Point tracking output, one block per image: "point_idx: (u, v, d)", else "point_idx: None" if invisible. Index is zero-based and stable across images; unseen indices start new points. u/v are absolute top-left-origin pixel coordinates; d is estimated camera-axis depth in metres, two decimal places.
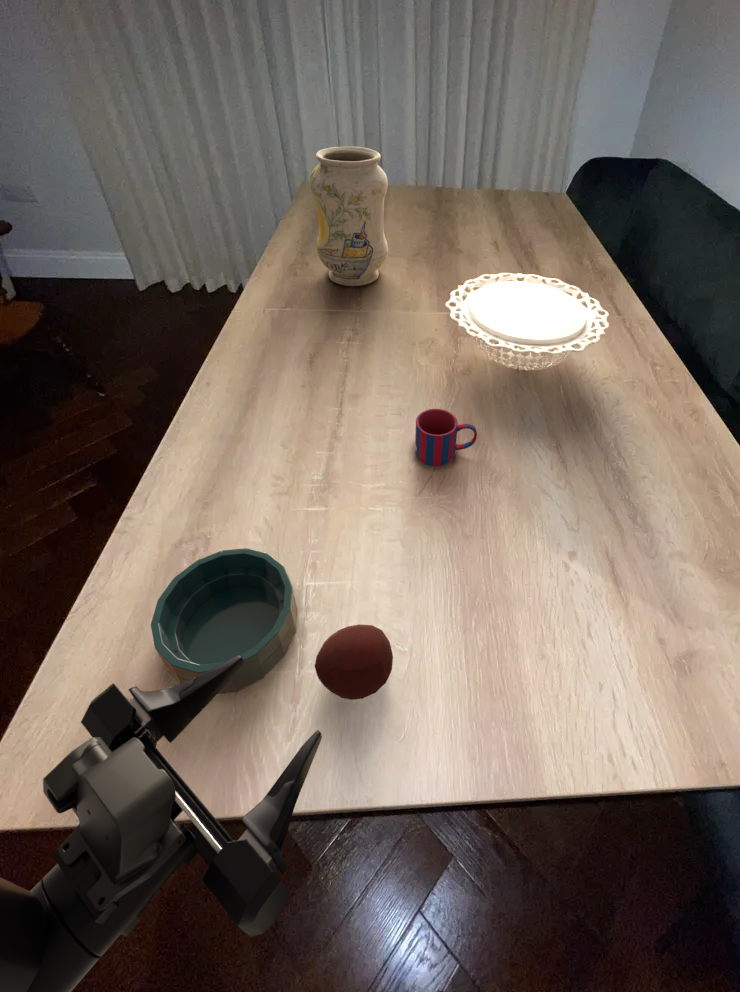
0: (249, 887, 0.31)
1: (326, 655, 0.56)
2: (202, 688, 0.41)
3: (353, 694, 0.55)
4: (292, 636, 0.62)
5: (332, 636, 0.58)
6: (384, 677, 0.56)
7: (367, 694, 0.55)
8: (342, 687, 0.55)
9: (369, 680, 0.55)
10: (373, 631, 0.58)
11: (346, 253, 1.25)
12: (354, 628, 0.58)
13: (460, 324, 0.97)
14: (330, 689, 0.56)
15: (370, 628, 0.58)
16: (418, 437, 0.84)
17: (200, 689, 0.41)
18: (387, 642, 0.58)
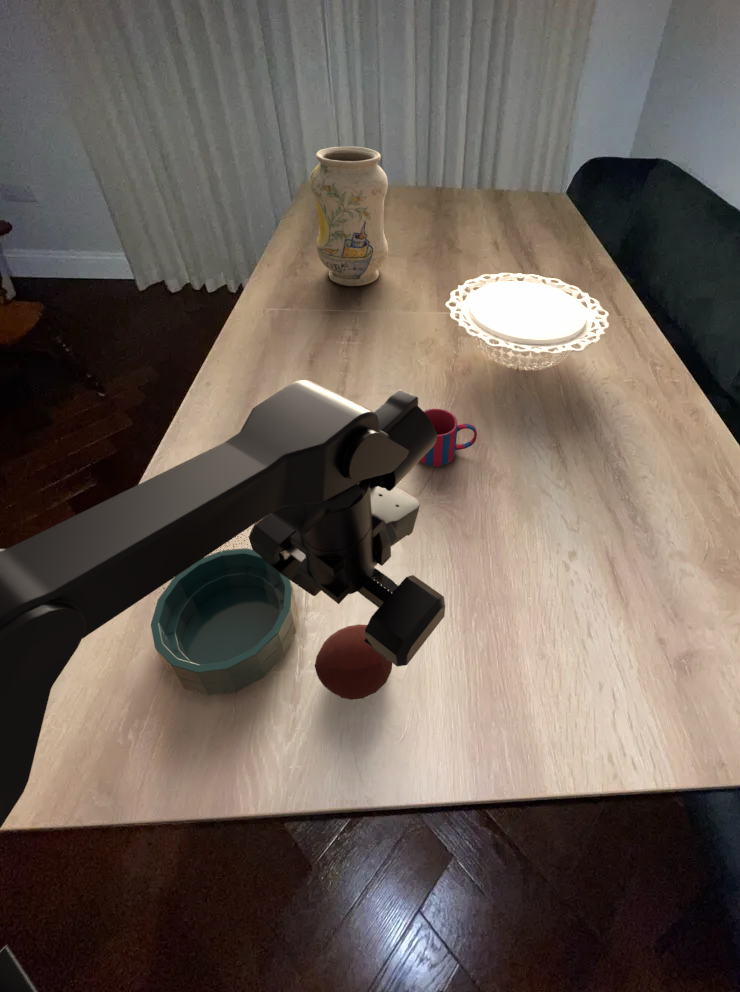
0: None
1: (326, 655, 0.56)
2: None
3: (353, 694, 0.55)
4: (292, 636, 0.62)
5: (332, 636, 0.58)
6: (384, 677, 0.56)
7: (367, 694, 0.55)
8: (342, 687, 0.55)
9: (369, 680, 0.55)
10: None
11: (346, 253, 1.25)
12: (354, 628, 0.58)
13: (460, 324, 0.97)
14: (330, 689, 0.56)
15: None
16: None
17: None
18: None
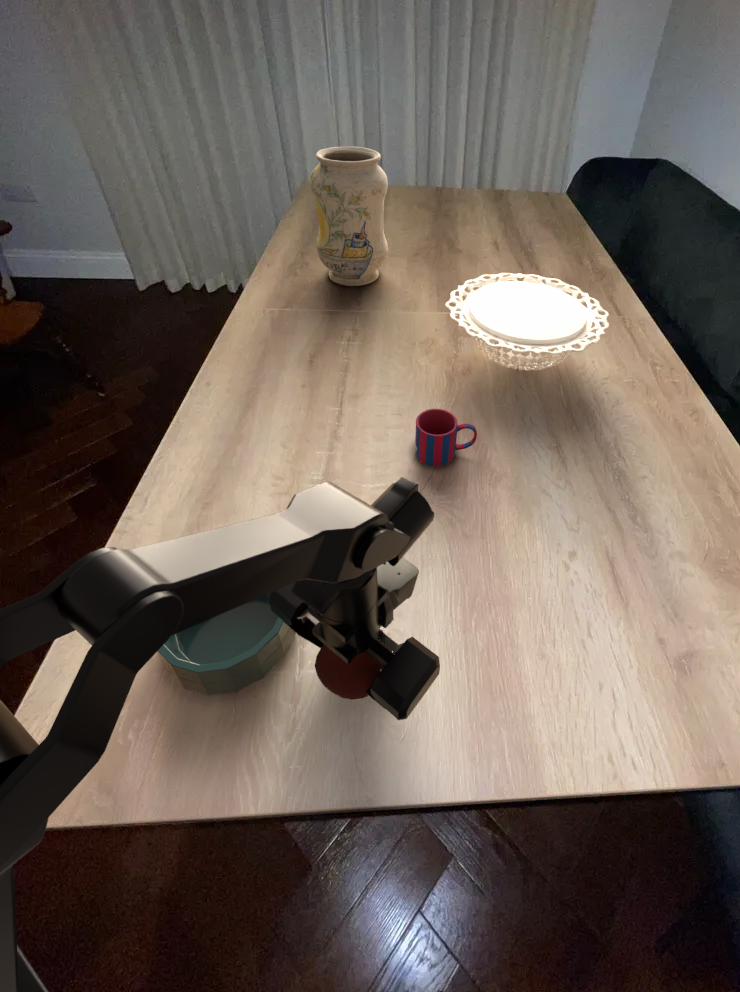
0: None
1: (326, 655, 0.56)
2: None
3: (353, 694, 0.55)
4: (292, 636, 0.62)
5: None
6: None
7: None
8: (342, 687, 0.55)
9: (369, 680, 0.55)
10: None
11: (346, 253, 1.25)
12: None
13: (460, 324, 0.97)
14: (330, 689, 0.56)
15: None
16: (418, 437, 0.84)
17: None
18: None
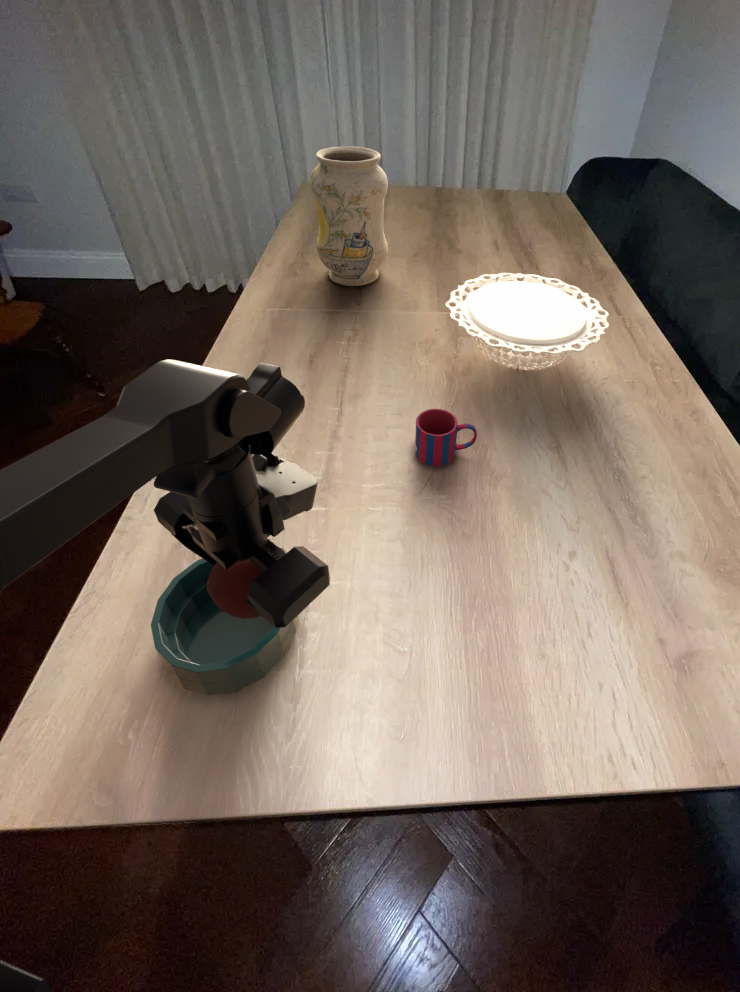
0: None
1: (217, 570, 0.52)
2: None
3: (243, 611, 0.51)
4: (292, 636, 0.62)
5: None
6: None
7: None
8: (231, 603, 0.51)
9: None
10: None
11: (346, 253, 1.25)
12: None
13: (460, 324, 0.97)
14: (220, 606, 0.52)
15: None
16: (418, 437, 0.84)
17: None
18: None
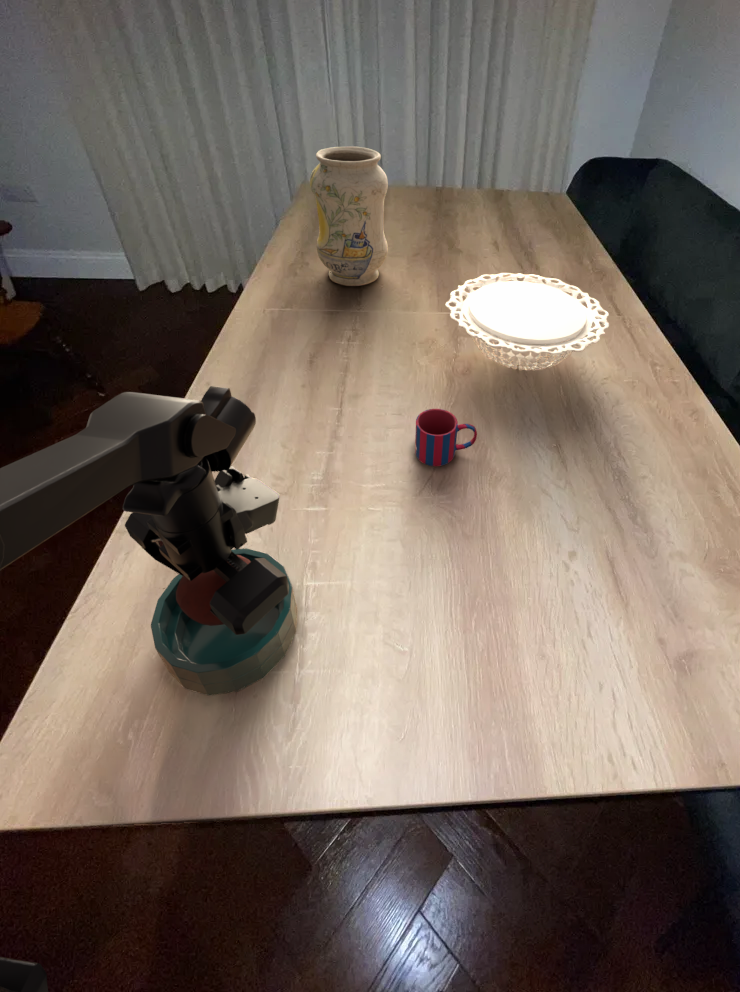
0: None
1: (185, 580, 0.56)
2: None
3: (209, 618, 0.54)
4: (292, 636, 0.62)
5: None
6: None
7: None
8: (197, 611, 0.54)
9: None
10: None
11: (346, 253, 1.25)
12: None
13: (460, 324, 0.97)
14: (188, 614, 0.55)
15: None
16: (418, 437, 0.84)
17: None
18: None
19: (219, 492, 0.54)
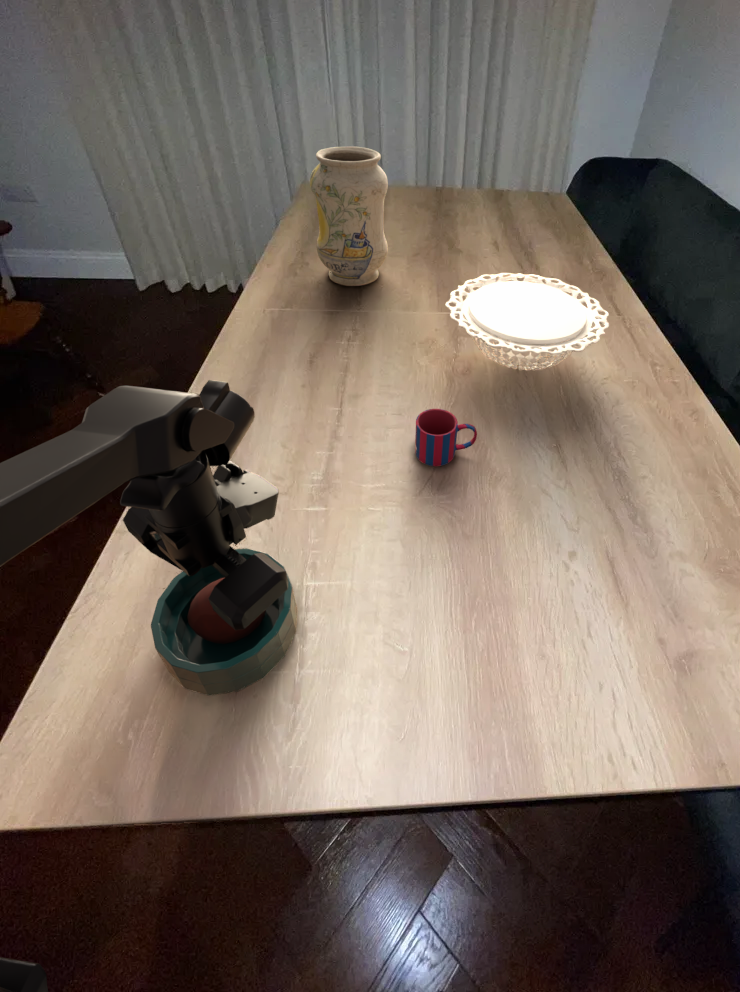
0: None
1: (196, 604, 0.59)
2: None
3: (224, 637, 0.58)
4: (292, 636, 0.62)
5: (204, 588, 0.61)
6: (255, 620, 0.60)
7: (238, 636, 0.59)
8: (212, 632, 0.58)
9: None
10: None
11: (346, 253, 1.25)
12: None
13: (460, 324, 0.97)
14: (202, 635, 0.59)
15: None
16: (418, 437, 0.84)
17: None
18: None
19: (218, 487, 0.54)
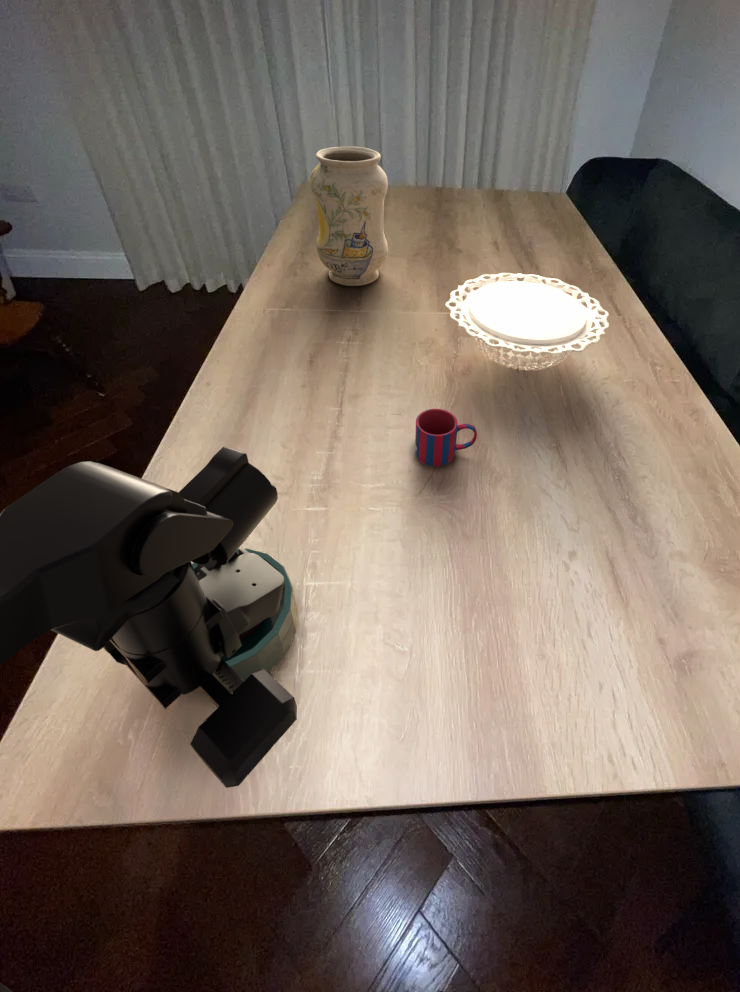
0: None
1: None
2: None
3: None
4: (292, 636, 0.62)
5: None
6: None
7: None
8: None
9: None
10: None
11: (346, 253, 1.25)
12: None
13: (460, 324, 0.97)
14: None
15: None
16: (418, 437, 0.84)
17: None
18: None
19: (205, 579, 0.41)
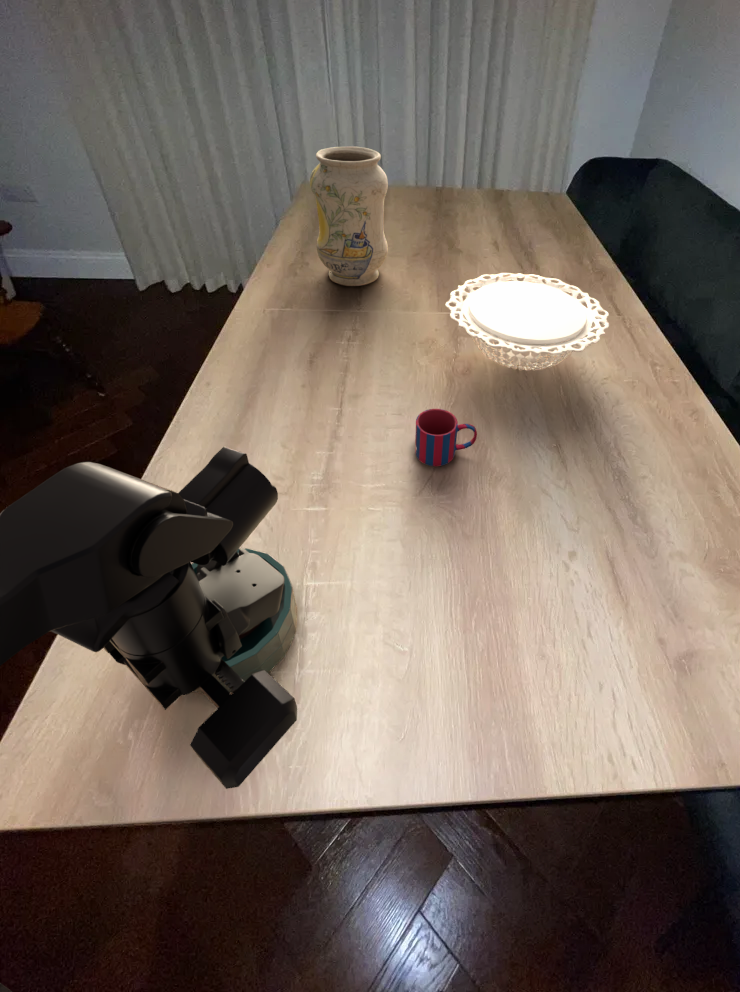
0: None
1: None
2: None
3: None
4: (292, 636, 0.62)
5: None
6: None
7: None
8: None
9: None
10: None
11: (346, 253, 1.25)
12: None
13: (460, 324, 0.97)
14: None
15: None
16: (418, 437, 0.84)
17: None
18: None
19: (205, 579, 0.41)
